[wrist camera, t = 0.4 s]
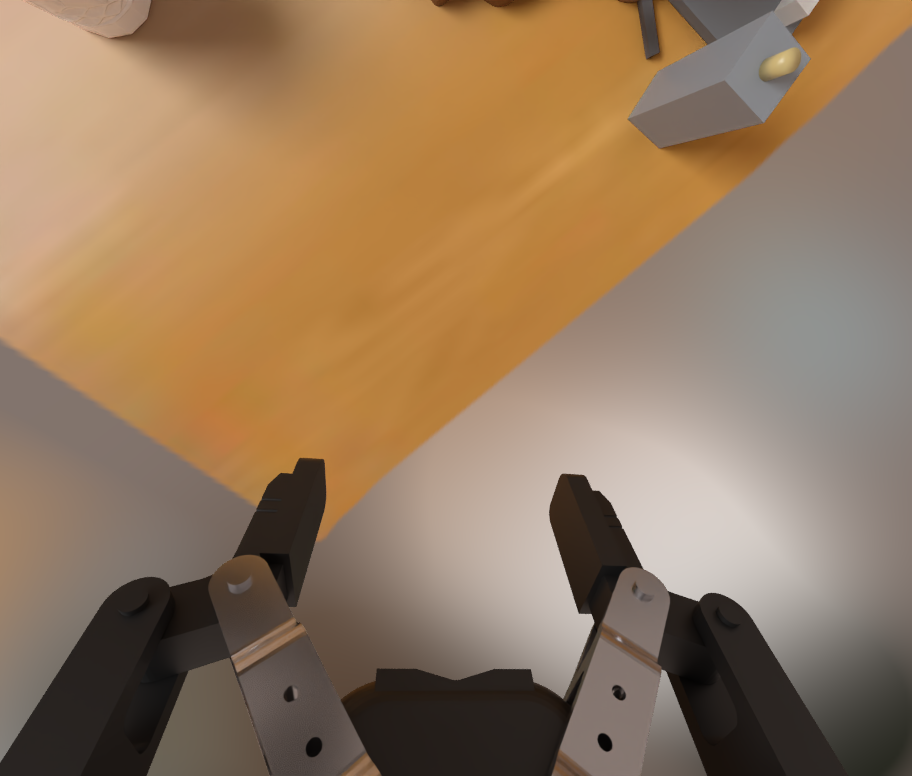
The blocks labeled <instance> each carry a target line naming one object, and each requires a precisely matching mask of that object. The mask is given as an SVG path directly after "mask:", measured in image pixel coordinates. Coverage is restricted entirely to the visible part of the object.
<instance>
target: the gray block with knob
mask: <svg viewBox="0 0 912 776" xmlns="http://www.w3.org/2000/svg"><path fill="white" fill-rule="evenodd" d="M810 59H811V58H810V57H809V56H808V55H807V53H806V52H805V51H804V50H803V48H802V47H801V46H800V45H799V43H798V42H797V41H796V40H795V38H794V37H793V36H792V35H791V33H790V32H789V31H788V30H787V28H786V27H785V26H784V25H783V23H782V22H781V21H780V19H779V18H778V17H777V16H776V14H775V13H774V12H773V11H771V12H769V13H767V14H765V15H763V16H761V17H760V18H758V19H756V20H754V21H752V22H750V23H748V24H746V25H744V26H743V27H741V28H739V29H737V30H735V31H733V32H731V33H729V34H727V35H726V36H724V37H722V38H720V39H718V40H716V41H714V42H712V43H711V44H709V45H707V46H705V47H703V48H701V49H699V50H697V51H695V52H694V53H692V54H690V55H688V56H686V57H684V58H682V59H680V60H678V61H677V62H675V63H673V64H671V65H669V66H667V67H665V68H663V69H661V70H660V71H658V72H657V74H656V75H655V77H654V78H653V80H652V82H651V83H650V85H649V86H648V88H647V89H646V91H645V92H644V94H643V96H642V97H641V99H640V100H639V102H638V103H637V105H636V107H635V108H634V110H633V111H632V113H631V114H630V116H629V117H628V120H629V121H630V122H631V123H632V124H633V125H634V126H636V127H637V128H638V129H639V130H640V131H641V132H642V133H643V134H644V135H645V136H646V137H647V138H649V139H650V140H651V141H652V142H653V143H654V144H655V145H656V146H657V147H658V148H663V147H667V146H671V145H676V144H680V143H684V142H688V141H692V140H696V139H700V138H704V137H708V136H713V135H717V134H721V133H725V132H729V131H733V130H737V129H741V128H745V127H750V126H754V125H758V124H762V123H764V122H765V121H766V119H767V118H768V117H769V115H770V114H771V113H772V111H773V110H774V108H775V107H776V106H777V104H778V103H779V102H780V100H781V99H782V98H783V96H784V95H785V93H786V92H787V91H788V89H789V88H790V87H791V85H792V84H793V82H794V81H795V80H796V78H797V77H798V76H799V74H800V73H801V72H802V70H803V69H804V67H805V66H806V65H807V63H808V62H809V61H810Z"/></svg>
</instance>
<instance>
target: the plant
mask: <svg viewBox="0 0 912 776" xmlns="http://www.w3.org/2000/svg"><path fill="white" fill-rule="evenodd" d="M447 1H449V0H432V2H433V3H434V4H435V5H436V6H441V5H443V4H445V3H446V2H447ZM485 1H486V2H488V3H489V4H491V5H492V6H495V7H501V6H505V5H507V4H509V3H511V2H513V1H514V0H485Z"/></svg>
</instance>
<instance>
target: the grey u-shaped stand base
mask: <svg viewBox="0 0 912 776" xmlns="http://www.w3.org/2000/svg"><path fill="white" fill-rule="evenodd" d="M668 1H669V2H670V3H671V4H672V5H673V6H674V7H675V8H676V9H677V11H678V12H679V13H680V14H681V15H682V16H683V17H684V18H685V19H686V21H687V22H688V23H689V24H690V25H691V26H692V27H693V28H694V29H695V31H696V32H697V33H698V34H699V35H700V36H701V37H702V38H703V39H704V41H705V42H706V43H707V44H708V45H709V44H711V43H712V42H714V41H716V40H718V39H720V38H722V37H724V36H726V35H727V34H729V33H731V32H733V31H735V30H737V29H739V28H741V27H743V26H744V25H746V24H748V23H750V22H752V21H754V20H756V19H758V18H760V17H761V16H763V15H765V14H767V13H769V12H771V11H773V12H774V13H775V14H776V16H777V17H778V18H779V19H780V21H781V22H782V23H783V25H784V26H785V27H786V28H787V30H788V31H789V32H790V33H791V35H792V33H793V32H794V30H795V29H796V28H797V26H798V25H799V23H800V22H801V20H802V19H803V18H805V17H807V16H808V15H809V14H810V13H811V11H812V10H813V8H814V7H815V6H816V4H817V3H818V1H819V0H668Z"/></svg>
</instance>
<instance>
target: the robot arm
mask: <svg viewBox="0 0 912 776" xmlns="http://www.w3.org/2000/svg"><path fill="white" fill-rule="evenodd" d="M325 503H326V479H325V463H324V459H312V458H299V460H298V462H297V464H296V466H295V469H294V471H293V474H289V473H280V474H279V475H278V476H277V477H276V478H275V479H274V480H273V481H271V482H270V483H269V484H268V486H267V488H266V490H265V492H264V494H263V497H262V500H261V501H260V503H259V505H258V507H257V511H256V512H255V513H254V515H253V518H252V520H251V522H250V524H249V526H248V528H247V530H246V532H245V534H244V536H243V539H242V541H241V543H240V545H239V547H238V549H237V551H236V553H235V555H234V557H233V558H232V559H231V560H229V561H227V562H225V563H224V564H222V565H221V566H220V567H219V568H218V569H217V570H216V571H215V572H214V574H213V575H211V576H208V577H206V578H203V579H200V580H196V581H192V582H188V583H185V584H180V585H176V586H172V587H169V585H168V584H167V582H166V581H164V580H163V579H160V578H156V577H145V578H140V579H137V580H134V581H131V582H129V583H127V584H125V585H123V586H121V587H120V588H118V589H117V590H116V591H114V592H113V593H112V594H111V595H110V596H109V597H108V598H107V599H106V600H105V601H104V603H103V604H102V605H101V607H100V608H99V610H98V611H97V613H96V614H95V616H94V618H93V619H92V621H91V622H90V624H89V625H88V627H87V628H86V630H85V632H84V633H83V635H82V636H81V638H80V639H79V641H78V643H77V644H76V646H75V647H74V649H73V650H72V652H71V654H70V655H69V657H68V658H67V660H66V661H65V663H64V664H63V666H62V667H61V669H60V671H59V672H58V674H57V675H56V677H55V678H54V680H53V681H52V683H51V685H50V686H49V688H48V689H47V691H46V692H45V694H44V695H43V697H42V699H41V700H40V702H39V703H38V705H37V707H36V708H35V710H34V711H33V713H32V714H31V716H30V717H29V719H28V720H27V722H26V724H25V725H24V727H23V728H22V730H21V731H20V733H19V734H18V736H17V738H16V739H15V741H14V742H13V744H12V745H11V747H10V748H9V750H8V752H7V753H6V755H5V756H4V758H3V759H2V761H1V763H0V776H147V773H148V770H149V768H150V766H151V763H152V761H153V758H154V756H155V753H156V750H157V748H158V746H159V743H160V741H161V738H162V736H163V733H164V731H165V728H166V726H167V723H168V721H169V718H170V715H171V713H172V710H173V708H174V706H175V703H176V701H177V698H178V696H179V693H180V690H181V688H182V686H183V683H184V681H185V678H186V676H187V673H188V671H189V670H192V669H194V668H198V667H201V666H204V665H207V664H210V663H213V662H216V661H219V660H223V659H226V658H230V660H231V663H232V666H233V669H234V672H235V675H236V678H237V681H238V684H239V687H240V689H241V692H242V695H243V698H244V701H245V704H246V707H247V709H248V713H249V715H250V719H251V722H252V725H253V728H254V731H255V734H256V737H257V740H258V742H259V745H260V749H261V751H262V754H263V757H264V760H265V763H266V766H267V769H268V772H269V775H270V776H640V774H641V770H642V765H643V760H644V755H645V750H646V745H647V740H648V736H649V731H650V726H651V721H652V715H653V711H654V706H655V702H656V697H657V692H658V687H659V682H660V677H661V669H662V670H665V671H666V672H667V674H668V677H669V679H670V682H671V684H672V687H673V690H674V692H675V695H676V697H677V700H678V702H679V705H680V708H681V710H682V713H683V715H684V717H685V720H686V723H687V725H688V728H689V731H690V733H691V735H692V738H693V741H694V743H695V746H696V748H697V751H698V754H699V756H700V759H701V761H702V764H703V766H704V769H705V771H706V774H707V776H848V774H847V773H846V771H845V769H844V768H843V766H842V764H841V763H840V761H839V760H838V758H837V756H836V755H835V753H834V751H833V750H832V748H831V747H830V745H829V743H828V742H827V740H826V739H825V737H824V735H823V734H822V732H821V730H820V729H819V727H818V726H817V724H816V722H815V721H814V719H813V717H812V716H811V714H810V713H809V711H808V709H807V708H806V706H805V704H804V703H803V701H802V700H801V698H800V696H799V695H798V693H797V691H796V690H795V688H794V686H793V685H792V683H791V682H790V680H789V678H788V677H787V675H786V673H785V672H784V670H783V669H782V667H781V665H780V664H779V662H778V661H777V659H776V658H775V656H774V654H773V652H772V651H771V649H770V648H769V646H768V644H767V643H766V641H765V639H764V638H763V636H762V635H761V633H760V631H759V630H758V628H757V626H756V625H755V623H754V622H753V620H752V618H751V617H750V616H749V614H748V613H747V612H746V611H745V610H744V609H743V608H742V607H741V606H740V605H739V604H738V603H736V602H735V601H733V600H732V599H730V598H728V597H726V596H724V595H721V594H717V593H708V594H706V595H704V596H703V597H702V598H701V599H700V601H699V602H698V601H695V600H692V599H689V598H686V597H683V596H680V595H677V594H674V593H671V592H669V591H667V589H666V587H665V586H664V584H663V583H662V582H661V581H660V580H659V579H658V578H657V577H656V576H654V575H653V574H652V573H650V572H648V571H646V570H644V569H643V568H642V566H641V563H640V561H639V560H638V557H637V555H636V553H635V551H634V549H633V548H632V545H631V543H630V541H629V539H628V538H627V535H626V533H625V531H624V529H622V525H621V523H620V521H619V519H618V518H617V515H616V513H615V511H614V509H613V507H612V505H611V503H610V502H609V501H608V500H607V499H606V498H605V497H604V496H603V495H602V494H601V492H600V491H592V489H591V487H590V484H589V482H588V480H587V478H586V477H585V476H584V475H575V474H562V475H561V476H560V478H559V480H558V483H557V486H556V489H555V492H554V495H553V498H552V501H551V504H550V510H549V516H550V523H551V526H552V529H553V532H554V536H555V538H556V542H557V545H558V548H559V551H560V555H561V558H562V561H563V564H564V568H565V571H566V574H567V577H568V580H569V584H570V587H571V590H572V593H573V596H574V600H575V603H576V606H577V609H578V612H579V614H592V616H593V619H594V622H595V623H594V625H593V627H592V629H591V631H590V634H589V637H588V639H587V642H586V644H585V647H584V649H583V652H582V655H581V657H580V660H579V662H578V665H577V668H576V670H575V673H574V675H573V678H572V681H571V683H570V685H569V687H568V689H567V691H566V694H565V696H564V698H563V699H562V698H561V697H560V696H558V695H557V694H556V693H554V692H553V691H551V690H549V689H548V688H546V687H544V686H542V685H539V684H537V683H534V682H533V678H532V673H531V669H493V670H490V671H487V672H484V673H480V674H478V675H474V676H471V677H467V678H464V679H461V680H451V679H448V678H444V677H441V676H438V675H434V674H431V673H427V672H424V671H421V670H418V669H377V673H376V681H374V682H371V683H368V684H365V685H364V686H361V687H359V688H357V689H355V690H353V691H352V692H350V693H349V694H347V695H346V696H345V697H343V698H342V699H341V700H340V698H339V696H338V694H337V692H336V690H335V688H334V687H333V684H332V683H331V680H330V678H329V676H328V674H327V672H326V671H325V668H324V666H323V664H322V662H321V660H320V658H319V656H318V655H317V652H316V650H315V648H314V646H313V644H312V642H311V640H310V638H309V636H308V634H307V633H306V630H305V629H304V627H303V626H302V624H301V623H297V622H296V620H295V618H294V616H293V614H292V612H291V610H290V608H289V607H296V606H297V602H298V599H299V595H300V592H301V589H302V585H303V582H304V578H305V575H306V572H307V568H308V565H309V561H310V558H311V554H312V551H313V547H314V544H315V541H316V537H317V534H318V530H319V527H320V523H321V520H322V516H323V513H324V509H325Z"/></svg>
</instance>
